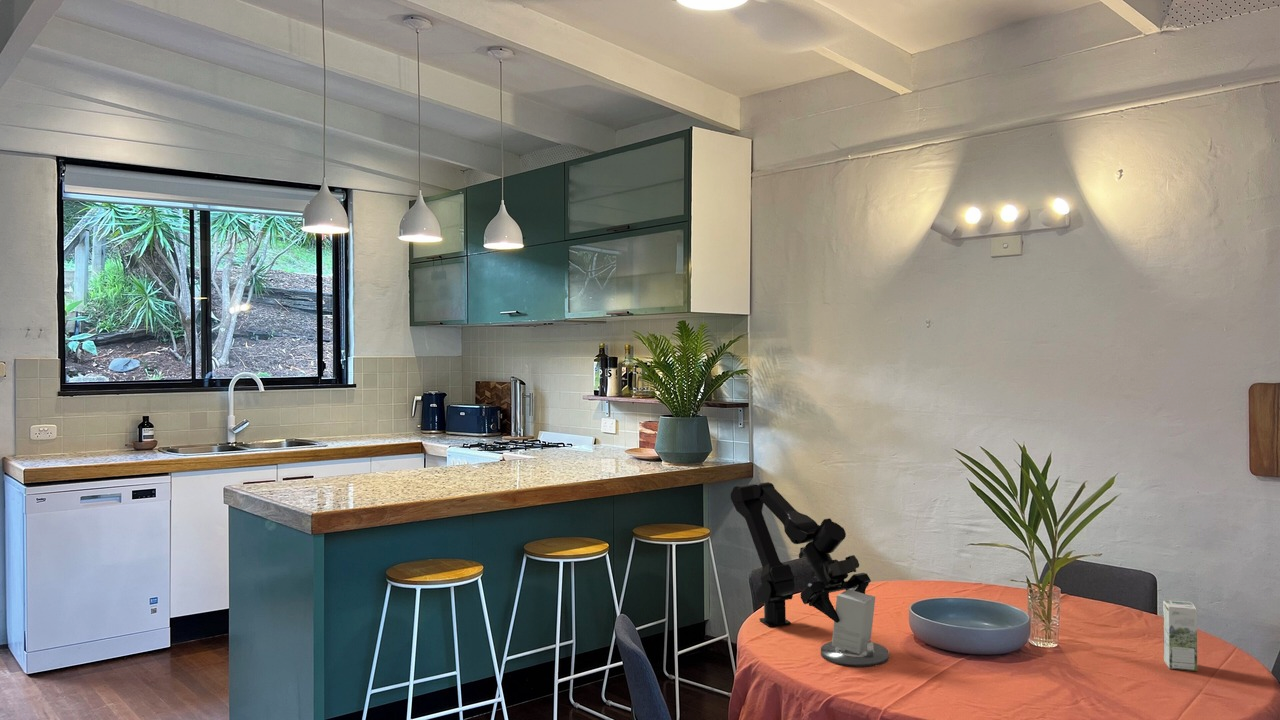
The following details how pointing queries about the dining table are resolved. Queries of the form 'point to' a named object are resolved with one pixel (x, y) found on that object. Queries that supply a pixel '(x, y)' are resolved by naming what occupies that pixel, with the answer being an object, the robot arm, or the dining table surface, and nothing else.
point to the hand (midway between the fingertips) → (852, 618)
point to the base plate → (856, 655)
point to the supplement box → (853, 621)
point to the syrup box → (1180, 635)
